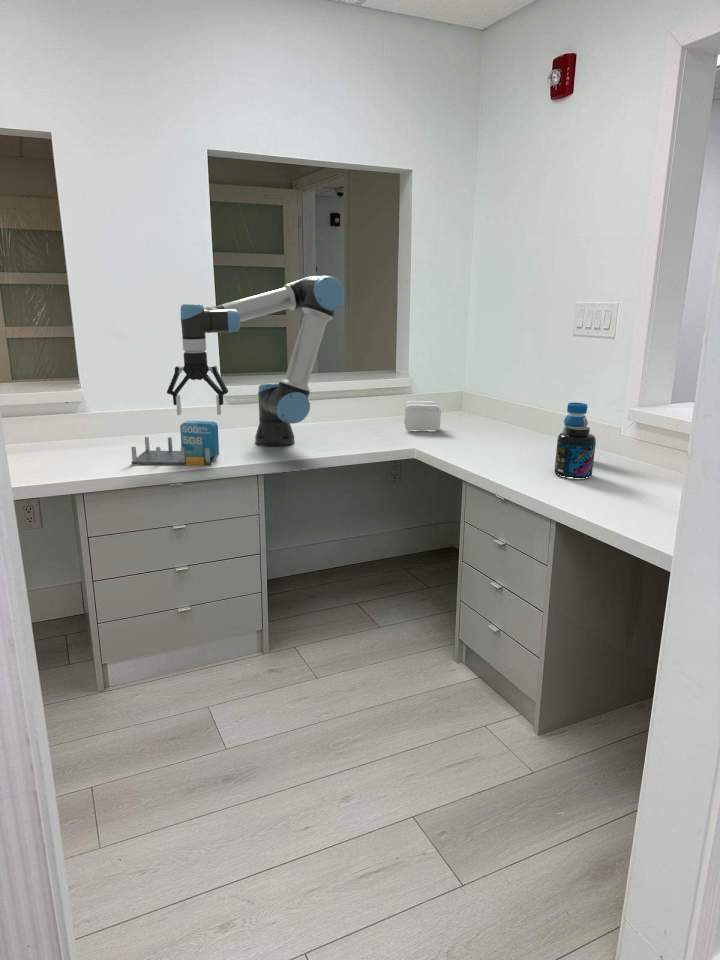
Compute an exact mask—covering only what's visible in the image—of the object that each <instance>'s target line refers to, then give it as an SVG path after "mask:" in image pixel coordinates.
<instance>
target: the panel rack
mask: <svg viewBox="0 0 720 960" xmlns="http://www.w3.org/2000/svg"><path fill="white" fill-rule="evenodd" d="M144 445H145V447H144V448H145V451H143V452H142V453H141V454H139V455H138V454H137V446H131V460H132V461H131V465H132V464H142V466H144V465H145V466H146V465H147V466H148V465H149V466H186V467H190V466H191V467H194V466H195V467H205V466H209V467H210V466H211V465H212V464H213V463H214V462H215V461H216V459H217V458H218V456H219V455H220V452H219V453H218V454H217V455H216V456H214V457H213V458H210V452H209V448H205V456H206V458H204V457H185V447H180V450H174V449H173V437H172V436H169V437H167V447H168V450H161V446H156V447H155V450H151V449H150V448H151V447H150V437H149V436H145V437H144ZM137 455H138V456H137Z"/></svg>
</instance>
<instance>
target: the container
mask: <svg viewBox="0 0 720 960" xmlns="http://www.w3.org/2000/svg"><path fill="white" fill-rule="evenodd" d="M590 431H591V427H588V426H579V425H569V426H566V432H563V431H561V433H559V434H558V436H557V442H556V452H555V453H556V454H555V461H554V473H555V474H556V475H557V474H559V475H561V476H565V477H573V478H586V477H589V476H591V477H592V475H593V469H594V461H595V453H596V452H595V451H596V444H597V443H596V442H597V439H596V437H595V435H593V434H592V433H590ZM589 478H590V477H589Z"/></svg>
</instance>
